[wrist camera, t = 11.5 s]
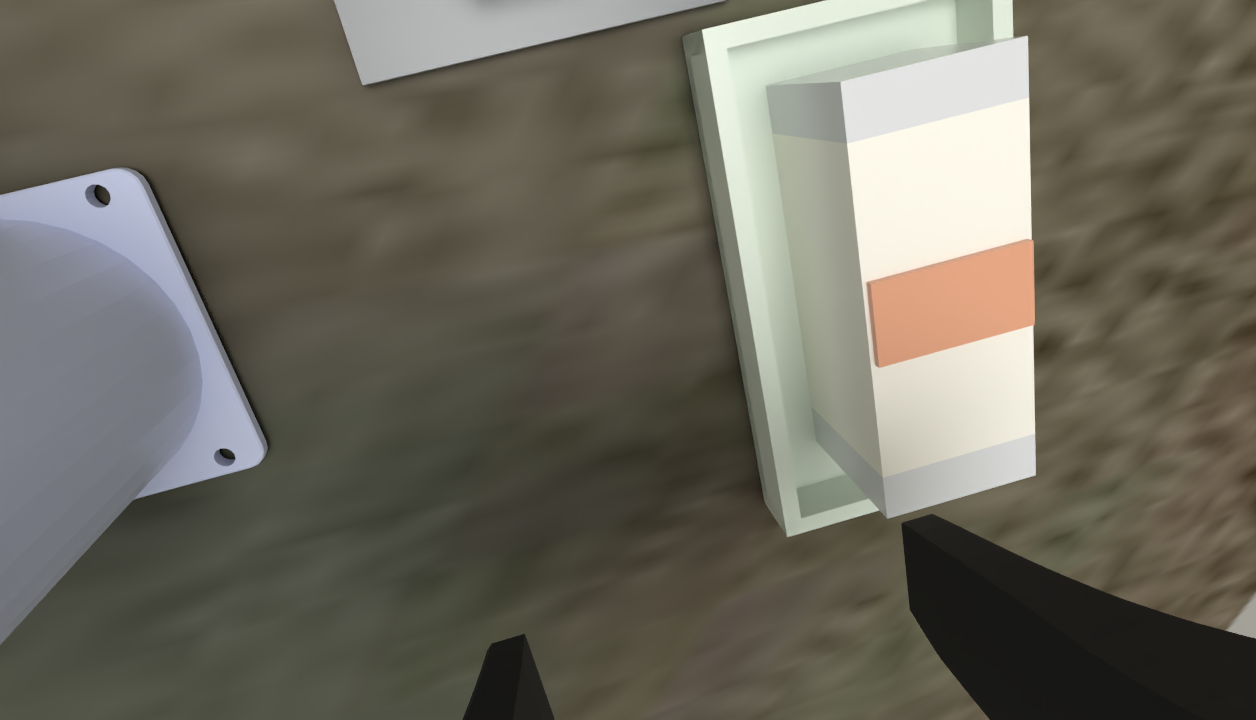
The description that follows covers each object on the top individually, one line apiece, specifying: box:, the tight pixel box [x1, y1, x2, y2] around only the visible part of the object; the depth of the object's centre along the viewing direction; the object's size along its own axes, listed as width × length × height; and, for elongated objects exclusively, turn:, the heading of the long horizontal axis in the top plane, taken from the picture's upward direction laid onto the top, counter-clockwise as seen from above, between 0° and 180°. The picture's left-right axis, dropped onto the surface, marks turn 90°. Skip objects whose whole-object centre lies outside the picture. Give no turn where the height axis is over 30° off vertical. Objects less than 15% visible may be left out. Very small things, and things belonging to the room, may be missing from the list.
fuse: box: [766, 36, 1036, 519], centre depth 18 cm, size 4×10×5 cm, turn 13°
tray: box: [682, 0, 1013, 537], centre depth 20 cm, size 8×14×2 cm, turn 13°
